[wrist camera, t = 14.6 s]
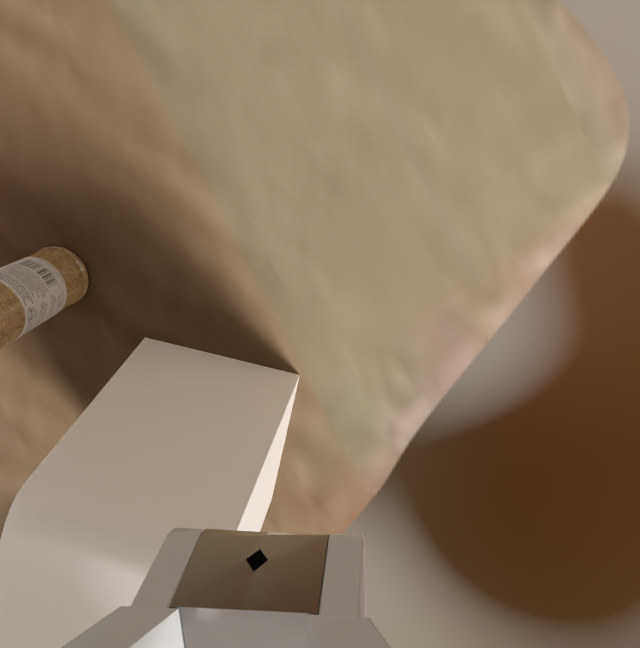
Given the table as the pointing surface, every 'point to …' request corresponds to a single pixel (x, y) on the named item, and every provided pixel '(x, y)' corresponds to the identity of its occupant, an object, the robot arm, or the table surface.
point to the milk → (139, 485)
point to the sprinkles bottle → (38, 290)
